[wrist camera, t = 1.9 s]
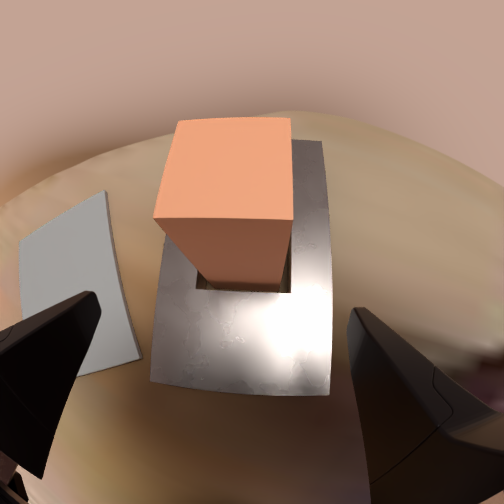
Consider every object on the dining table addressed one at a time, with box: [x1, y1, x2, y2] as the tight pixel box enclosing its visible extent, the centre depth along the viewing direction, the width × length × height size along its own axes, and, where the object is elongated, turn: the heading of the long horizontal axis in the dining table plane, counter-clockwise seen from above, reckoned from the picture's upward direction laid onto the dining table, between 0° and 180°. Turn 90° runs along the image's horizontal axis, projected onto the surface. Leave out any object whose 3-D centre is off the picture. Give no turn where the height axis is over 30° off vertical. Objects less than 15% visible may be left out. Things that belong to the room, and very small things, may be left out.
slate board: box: [19, 190, 143, 377], centre depth 21 cm, size 17×14×1 cm
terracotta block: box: [153, 117, 293, 292], centre depth 16 cm, size 5×5×12 cm
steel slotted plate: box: [150, 139, 332, 396], centre depth 20 cm, size 20×12×3 cm, turn 177°
